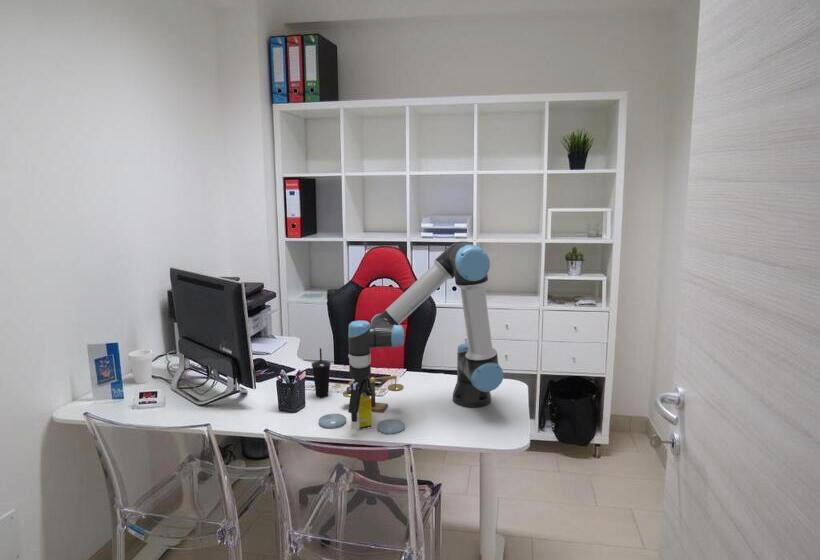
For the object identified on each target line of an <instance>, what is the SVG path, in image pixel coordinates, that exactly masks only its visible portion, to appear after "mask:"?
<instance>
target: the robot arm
mask: <svg viewBox="0 0 820 560" xmlns="http://www.w3.org/2000/svg"><path fill="white" fill-rule="evenodd" d="M490 267H491V261H490V257H489V256H488V254H487V253H486V251H485V250H484V249H483V248H481V247H480V246H478V245H475V244H472V243H471V242H468V241H456V242H454V243H452V244H451V245H450V246H448V247H447V248H446V249H445V250H444V251H443V252H442V253H441V254H440V255H438V257H437V258H435V259H434V260H433V265H431V267H430V268H428V270H426V271H425V272H424V273H423V274H422V275H421V276H420V277H418V279H417V280H416V281H415V282H414V283H413V284H412V285H410V286H409V287H408V288H407V289H406V290H405V291H404V292H403V293H402V294H401V295H400V296H399V297H397V299H395V300H394V301H393V302H392V303H391V304H390V305H389V306H388V307H386V309H385V310H384V311H382V312H381V313H377V314H375V315H374V316H373V317H372V319H371V320H370V322H369V321H368V320H359V319H358V320H353V321H350V322H349V324H348V332H347V333H348V335H347V336H348V355H347V358H348V359H349V361H348V363H349V367H348V369H349V376H350V377H351V378H353V379H354V380H353V381H354V383H353V384H351V395H350V397H349V404H348V410H347V411H348V413H349V414H350V423H351V424H350V425H351V426H350V427H351V430H356V431H359V430H361V429H360V428H359V411H358V408H359V403H360V398H361V394H363V393H366V394H367V395H368V396H369V398H370V399H371V396H373V393H371V392H372V387H371V382H370V378H371V377H370V376H371V373H372V367H371V366H372V365H371V363H372V361H371V358H372V357H371V349H379V348H381V349H382V348H397V347H402V346H403V345H404V343H405V329H404V327H403V326H402V322H403V321H405V320H406V319H407V318H408V317H409V316H410V315H411V314H412V313H413V312H414V311H416V309H417V308H418V307H420V306H421V305H422V304H423V303H424V302H425V301H426V300H427V299H428V298H429V297H430V296H432V295H433V293H434V292H436V291H437V290H438V289H439V288H440V287H441V286H442V285H443V284H445V283H446V282H447V281H448V280H453V279H454V281H455V282H454V284H455V285H456V286H457V287H458V288H460V295H461V302H462V309H463V310H462V311H463V317H464V324H465V331H466V339H467V342H466V343H460V344H459V345H458V346H457V353H456V354H457V357H456V358H457V359H456V360H457V366H456V369H457V372H456V375H457V376H456V377H457V378H456V382H455V383H456V384H455V386H454V389H453V392H452V402H453V403H454V404H456V405H459V406H460V407H461V406H462V407H466V408H481V407H484V406H487V405H489V404H491V401H492V394H491V392H492V391H494V390H496V389H497V388H499V386H501V384H502V383H503V379H504V371H503V369H502V366H501V365H499V357H498V352H497V349H495V348H493V343H492V342H493V341H492V335H491V328H490V327H491V326H490V320H489V313H488V310H489V309H488V301H487V296H486V294H487V293H486V287H485V285H486V284H487V282H488V281H489V276H488V273H489V271H490Z"/></svg>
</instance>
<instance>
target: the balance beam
mask: <svg viewBox="0 0 820 560" xmlns="http://www.w3.org/2000/svg"><path fill="white" fill-rule="evenodd" d="M397 378H398V376H397V375H390V376H382V377H381V376H379V377H374V376H372V377H370V382H371V383H375V384H376V383H377V382H382V381H391V380H394V383H392V384H388V386H387V389H388V391H390V392H400V391H403V390H404V387H405V386H404V385H403V384H401V383H397ZM353 383H354V380H352V381H349V382H348V385H349V386H348V387H346V390H345V391H343V392H342V396H343V397H345V398H350V395H351V384H353Z"/></svg>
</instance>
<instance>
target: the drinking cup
mask: <svg viewBox="0 0 820 560" xmlns="http://www.w3.org/2000/svg"><path fill="white" fill-rule="evenodd" d="M322 358H323V357H322V348H319V360H316V361H313V362H312V363H311V367H312V375H313V381H314V388H315V389H314V391H315V396H316V397H317V398H319V399H322V398H323V399H324V398H326V397H328V396H329V390H330V389H329V387H330V386H329V385H330V372H331V370H330V369H331V362H330V361H329V360H325V359H322Z"/></svg>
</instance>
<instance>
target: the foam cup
mask: <svg viewBox="0 0 820 560" xmlns="http://www.w3.org/2000/svg"><path fill="white" fill-rule="evenodd" d="M153 355H154V353H153V350H152V349H137V350H133V351H131V352H129V353H128V360H129V363H130V365H131V370H132V374H133V378H134V381H135V384H138V385H143V384H144V385H145V384H148V383H150V382H152V376H153V375H152V374H153V373H152V371H153V357H154V356H153Z"/></svg>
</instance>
